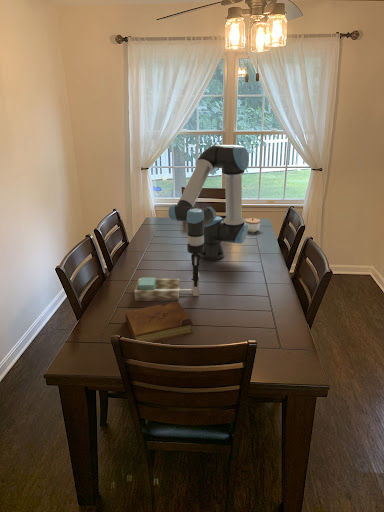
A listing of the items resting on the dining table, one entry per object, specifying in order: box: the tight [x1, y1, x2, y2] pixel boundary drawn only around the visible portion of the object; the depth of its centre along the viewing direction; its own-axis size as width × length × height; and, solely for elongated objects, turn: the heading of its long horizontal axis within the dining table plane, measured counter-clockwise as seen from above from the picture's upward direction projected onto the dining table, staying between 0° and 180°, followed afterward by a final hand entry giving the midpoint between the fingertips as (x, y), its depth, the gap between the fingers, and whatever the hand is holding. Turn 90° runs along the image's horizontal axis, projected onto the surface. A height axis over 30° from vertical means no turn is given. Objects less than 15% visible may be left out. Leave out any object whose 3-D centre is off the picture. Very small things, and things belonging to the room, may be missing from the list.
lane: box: [134, 278, 181, 302], centre depth 178 cm, size 20×13×5 cm, turn 89°
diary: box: [124, 300, 194, 343], centre depth 152 cm, size 23×19×6 cm
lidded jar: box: [244, 217, 261, 233], centre depth 262 cm, size 11×11×9 cm
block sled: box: [139, 272, 200, 297], centre depth 177 cm, size 28×8×10 cm, turn 89°
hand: (195, 288), depth 178 cm, fingers closed on block sled, 5 cm apart
